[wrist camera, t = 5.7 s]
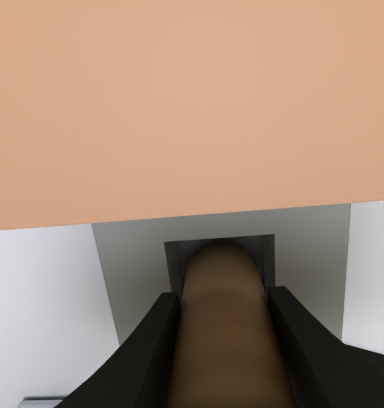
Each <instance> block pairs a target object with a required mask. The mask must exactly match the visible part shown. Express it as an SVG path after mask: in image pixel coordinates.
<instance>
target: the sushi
mask: <svg viewBox="0 0 384 408" xmlns="http://www.w3.org/2000/svg"><path fill="white" fill-rule="evenodd" d="M345 345H346V344H345ZM346 346H347V347H349V348H350V349H351V350H352V351H354V352H355V353H356V354H357V355H359V356H360V357H361V358H363V359H364V360H366V361H367V362H368V363H370V364H371V365H372V366H374V367H375V368H376V369H378V370H379V371H381V372H382V373H383V374H384V355H382V354H379V353H375V352H371V351H368V350H364V349H360V348H357V347H353V346H349V345H346Z"/></svg>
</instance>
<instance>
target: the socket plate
mask: <svg viewBox="0 0 384 408" xmlns="http://www.w3.org/2000/svg"><path fill="white" fill-rule="evenodd" d="M350 209H351V203H343V204H330V205H317V206H304V207H292V208H279V209H266V210H253V211H240V212H228V213H215V214H202V215H189V216H177V217H164V218H151V219H138V220H126V221H113V222H100V223H92V228H93V232H94V236H95V241H96V245H97V249H98V254H99V258H100V262H101V267H102V271H103V275H104V280H105V284H106V288H107V293H108V297H109V301H110V306H111V310H112V314H113V319H114V323H115V327H116V332H117V336H118V340H119V345H120V346H121V345H122V343H123V342H124V341H125V340H126V339H127V338H128V337H129V335H130V334H131V333H132V332H133V331H134V329H135V328H136V327H137V325H138V324H139V323H140V322H141V320H142V319H143V318H144V316H145V315H146V314H147V312H148V311H149V310H150V308H151V307H152V305H153V304H154V303H155V301H156V300H157V298H158V297H159V296H160V294H161V293H163V292H179V299H180V306H181V302H182V296H183V288H182V281H181V273H180V266H179V259H178V251H177V244H176V241H183V240H197V239H211V238H226V237H240V236H254V235H263V260H264V286H263V288H264V292H265V295H266V299H267V302H268V293H267V287H272V286H285V287H287V288H288V289H289V290H290V292H291V293H292V294H293V295H294V296H295V297H296V298H297V299H298V300H299V301H300V302H301V303H302V305H303V306H304V307H305V308H306V309H307V310H308V311H309V312H310V313H311V314H312V315H313V316H314V317H315V318H316V319H317V320H319V321H320V322H321V323H322V324H323V325H324V326H325V327H326V328H327V329H328V330H329V331H330V332H331V333H332V334H334V335H335V336H336V337H337V338H338V339H339V340H340V341H341V340H342V325H343V310H344V296H345V281H346V267H347V252H348V238H349V223H350Z"/></svg>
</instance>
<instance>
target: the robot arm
mask: <svg viewBox="0 0 384 408" xmlns="http://www.w3.org/2000/svg"><path fill="white" fill-rule="evenodd" d="M267 293H268V306H269V309H270V313H271V316H272V320H273V323H274V327H275V330H276V334H277V337H278V341H279V344H280V348H281V351H282V355H283V359H284V362H285V366H286V369H287V373H288V376H289V380H290V383H291V387H292V390H293V394H294V397H295V401H296V404H297V408H384V374H383V373H382V372H381V371H379V370H378V369H376V368H375V367H374V366H372V365H371V364H370V363H368V362H367V361H366V360H364V359H363V358H361V357H360V356H359V355H357V354H356V353H355V352H354V351H352V350H351V349H350V348H349V347H347V346H346V345H345V344H344V343H343V342H342V341H340V340H339V339H338V338H337V337H336V336H335V335H334V334H332V333H331V332H330V331H329V330H328V329H327V328H326V327H325V326H324V325H323V324H322V323H321V322H320V321H319V320H317V319H316V318H315V317H314V316H313V315H312V314H311V313H310V312H309V311H308V310H307V309H306V308H305V307H304V306H303V305H302V303H301V302H300V301H299V300H298V299H297V298H296V297H295V296H294V295H293V294H292V293H291V292H290V290H289V289H288V288H287V287H285V286H272V287H267ZM180 309H181V306H180V299H179V292H163V293H161V294H160V296H159V297H158V298H157V300H156V301H155V303H154V304H153V305H152V307H151V308H150V310H149V311H148V312H147V314H146V315H145V316H144V318H143V319H142V320H141V322H140V323H139V324H138V325H137V327H136V328H135V329H134V331H133V332H132V333H131V334H130V335H129V337H128V338H127V339H126V340H125V341H124V342H123V343H122V345H121V346H120V347H119V348H118V349H117V350H116V351H115V353H114V354H113V355H112V356H111V357H110V358H109V359H108V360H107V361H106V362H105V363H104V364H103V365H102V366H101V367H100V368H99V369H98V370H97V371H96V372H95V373H94V374H93V375H92V376H91V377H89V378H88V379H87V380H86V381H85V382H84V383H82V384H81V385H80V386H79V387H78V388H77V389H75V390H74V391H73V392H72V393H71V394H70V395H68V396H67V397H66V398H65V399H64V400H26V401H22V402H20V404H19V406H18V407H17V408H166V405H167V398H168V391H169V384H170V378H171V371H172V364H173V357H174V350H175V343H176V337H177V330H178V323H179V316H180Z"/></svg>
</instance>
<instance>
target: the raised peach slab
mask: <svg viewBox="0 0 384 408" xmlns="http://www.w3.org/2000/svg"><path fill="white" fill-rule="evenodd" d="M381 200H384V0H0V230H11V229H23V228H36V227H49V226H62V225H74V224H87V223H100V222H113V221H126V220H138V219H151V218H164V217H177V216H189V215H202V214H215V213H228V212H240V211H253V210H266V209H279V208H292V207H304V206H317V205H330V204H343V203H355V202H368V201H381Z"/></svg>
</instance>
